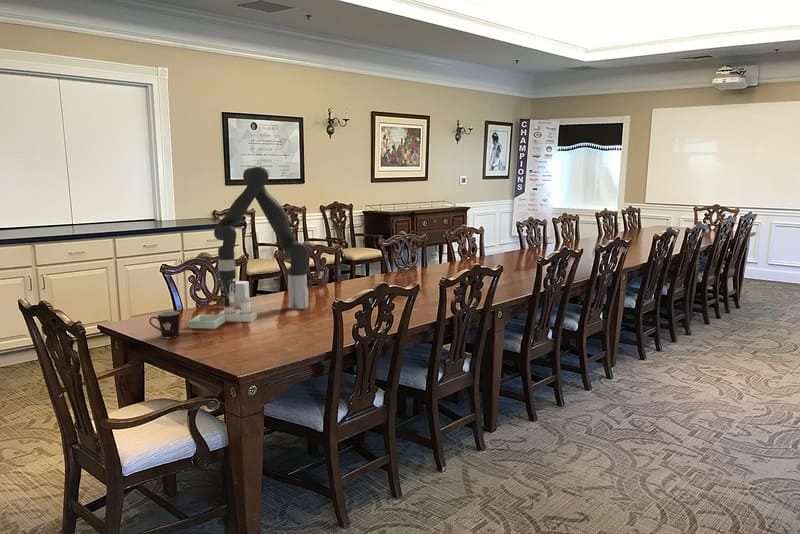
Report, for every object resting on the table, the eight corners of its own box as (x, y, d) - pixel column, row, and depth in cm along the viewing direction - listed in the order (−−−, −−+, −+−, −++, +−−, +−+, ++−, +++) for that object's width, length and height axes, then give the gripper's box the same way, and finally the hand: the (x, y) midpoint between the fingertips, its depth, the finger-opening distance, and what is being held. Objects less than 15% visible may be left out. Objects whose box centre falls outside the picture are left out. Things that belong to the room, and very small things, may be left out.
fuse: (252, 318, 289) (251, 297, 287) (249, 320, 284) (248, 299, 282) (242, 317, 289) (241, 296, 288) (239, 320, 285) (238, 299, 283)
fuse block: (257, 319, 290) (257, 311, 290) (251, 323, 283) (251, 315, 282) (224, 318, 292) (223, 310, 291) (217, 322, 284) (217, 314, 283)
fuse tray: (225, 323, 283) (225, 315, 282) (215, 330, 271) (214, 321, 270) (200, 323, 284) (199, 314, 283) (188, 330, 272) (188, 321, 271)
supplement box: (250, 304, 320) (249, 280, 318) (245, 308, 313) (244, 283, 310) (236, 304, 321) (235, 280, 318) (231, 307, 313) (230, 283, 311)
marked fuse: (236, 311, 289) (235, 290, 287) (232, 314, 284) (231, 293, 283) (226, 311, 290) (225, 290, 288) (222, 314, 285) (221, 292, 283)
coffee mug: (185, 334, 265) (183, 311, 263) (171, 340, 257) (170, 316, 255) (163, 332, 269) (161, 309, 267) (149, 337, 261) (147, 314, 259)
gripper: (229, 271, 276) (231, 308, 279) (240, 266, 290) (242, 301, 293) (213, 271, 277) (215, 308, 280) (224, 266, 291) (226, 301, 294)
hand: (229, 304), depth 286 cm, fingers closed on marked fuse, 4 cm apart
